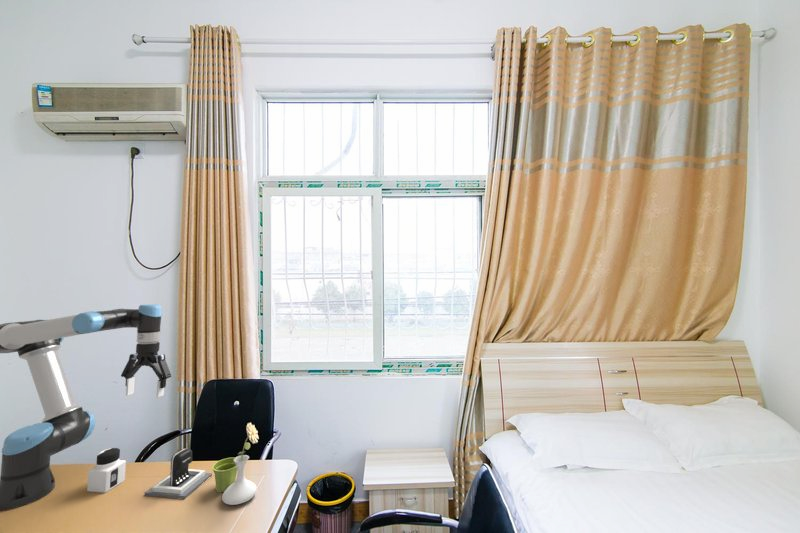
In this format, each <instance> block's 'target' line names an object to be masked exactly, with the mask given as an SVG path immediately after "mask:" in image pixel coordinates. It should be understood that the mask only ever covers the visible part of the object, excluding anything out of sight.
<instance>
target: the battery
mask: <svg viewBox="0 0 800 533" xmlns="http://www.w3.org/2000/svg"><path fill="white" fill-rule="evenodd" d="M192 462H193V450H192V449H191V448H183V449H182V448H181V450H179V451H177V452H176V453H174V454H173V455H172V457H171V459H170V474H169V475H170V486H171V487H172V486H173V487H176V486H179V485H180V484H182V483H183V482H185V481H186V480H187V479H189V472H188V469H189V464H191V463H192Z"/></svg>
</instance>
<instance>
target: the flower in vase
mask: <svg viewBox="0 0 800 533" xmlns="http://www.w3.org/2000/svg"><path fill="white" fill-rule="evenodd" d="M246 433H247V434H246V435H247V437H246V439H245V441H244V444H243V448H242V451H239V452H238V456H236V457H234V458H235V459H234V462H235V463H236V465H237V474H236V480H235V482H234V483H233V484H231V485H230V486H229V487H228V488H227V489H226V490H225V491H224V492H222V493H223V494H222V496H221V500H222V501H223V503H224V504H226V505H230V506H234V505H240V504H243V503H246V502H248V501H249V500H251V499H253V498H254V497H255V495H256V493H257V491H258V487H257V485H256V483H255V482H253V481H251V480H249V479H247V478H246V477H245V469H246V468H245V467H246V464H247V462H248V461H249V459H250V456H249V455H247V454H245V450H247V451H248V450H249V449H250V448H251V443H252V444H253V445H254V444H258V442H259V441H258V440H259V439H260V438H259V435H258V433H259V431H258V430H257V428H256V427H255V424H252V422H248V423H247V425H246ZM248 439H249V441H250V442H251V443H250V442H247V441H248Z"/></svg>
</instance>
